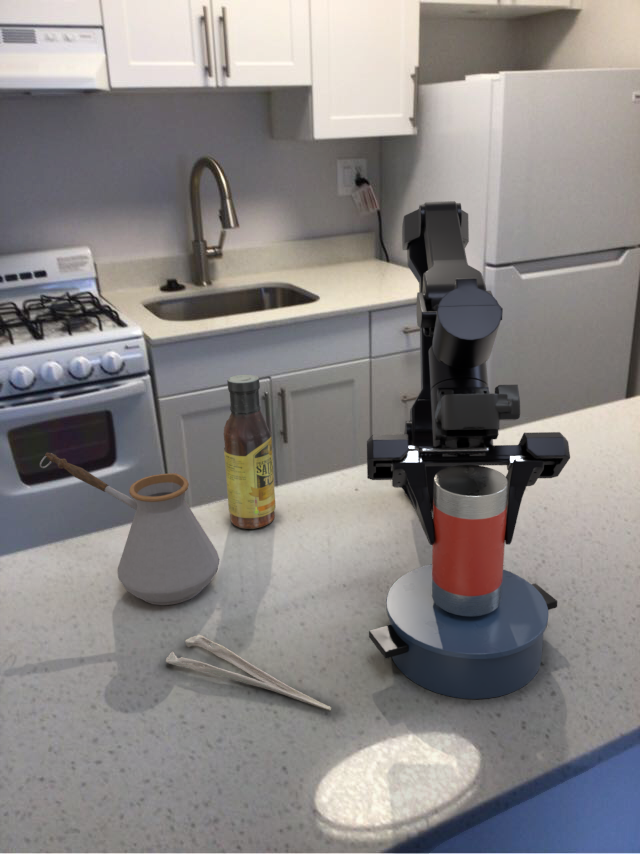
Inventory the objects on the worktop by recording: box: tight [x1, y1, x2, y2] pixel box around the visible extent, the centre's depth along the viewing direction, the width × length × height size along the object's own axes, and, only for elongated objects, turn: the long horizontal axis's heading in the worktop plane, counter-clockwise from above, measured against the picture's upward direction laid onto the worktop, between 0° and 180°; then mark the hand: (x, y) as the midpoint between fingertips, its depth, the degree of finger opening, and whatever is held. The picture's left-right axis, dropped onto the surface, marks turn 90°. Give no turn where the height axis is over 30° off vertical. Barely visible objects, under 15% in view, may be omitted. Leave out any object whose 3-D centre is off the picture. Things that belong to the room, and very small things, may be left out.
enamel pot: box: [368, 563, 558, 700], centre depth 74 cm, size 19×15×5 cm
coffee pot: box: [39, 452, 220, 606], centre depth 86 cm, size 21×12×15 cm, turn 68°
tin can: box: [431, 465, 508, 616], centre depth 71 cm, size 7×7×12 cm
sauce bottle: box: [223, 373, 276, 530], centre depth 98 cm, size 6×6×20 cm
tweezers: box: [165, 634, 332, 712], centre depth 71 cm, size 17×5×2 cm, turn 60°
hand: (469, 543), depth 70 cm, fingers closed on tin can, 7 cm apart
